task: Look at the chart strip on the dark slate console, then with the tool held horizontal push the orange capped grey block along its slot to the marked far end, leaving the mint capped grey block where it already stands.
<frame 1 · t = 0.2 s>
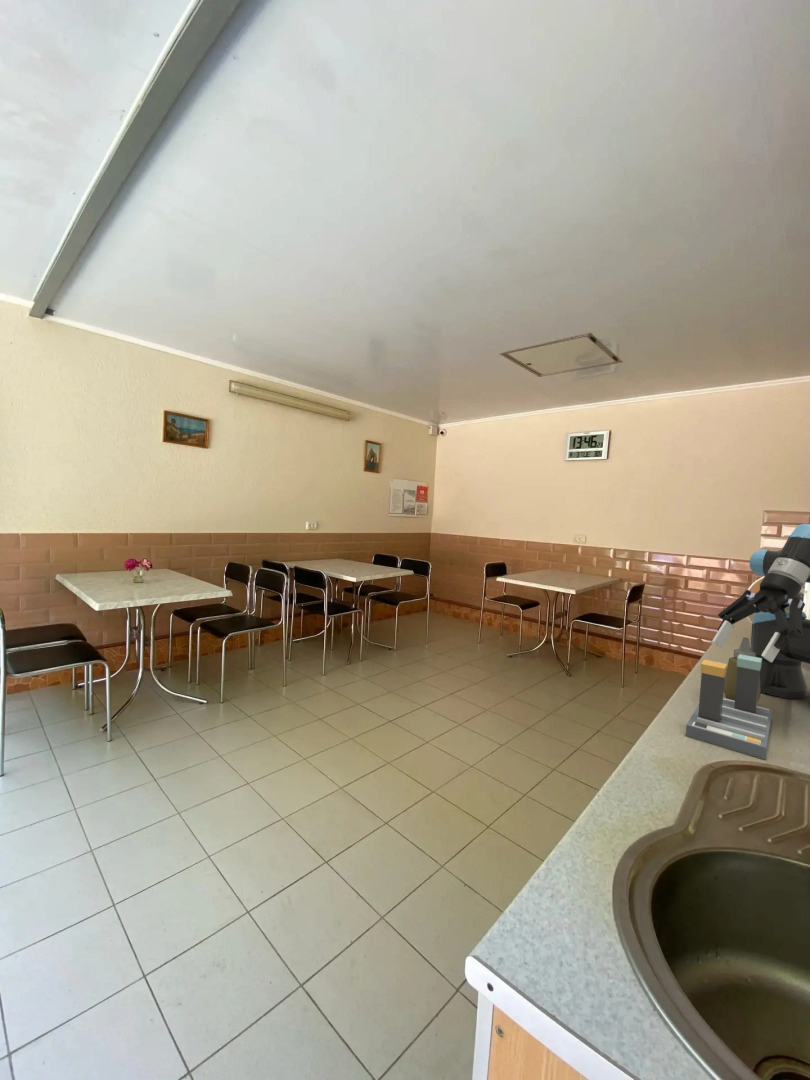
hand: (740, 651, 112), 16 cm above the counter, tool tilted 35°, fingers open, 13 cm apart
orange capped grey block: (711, 691, 104), point 9 cm above the counter, slide at 0.0 cm
squeeze bottle: (740, 706, 120), on the counter
console: (730, 727, 107), on the counter
mint capped grey block: (747, 684, 109), point 9 cm above the counter, slide at 5.7 cm
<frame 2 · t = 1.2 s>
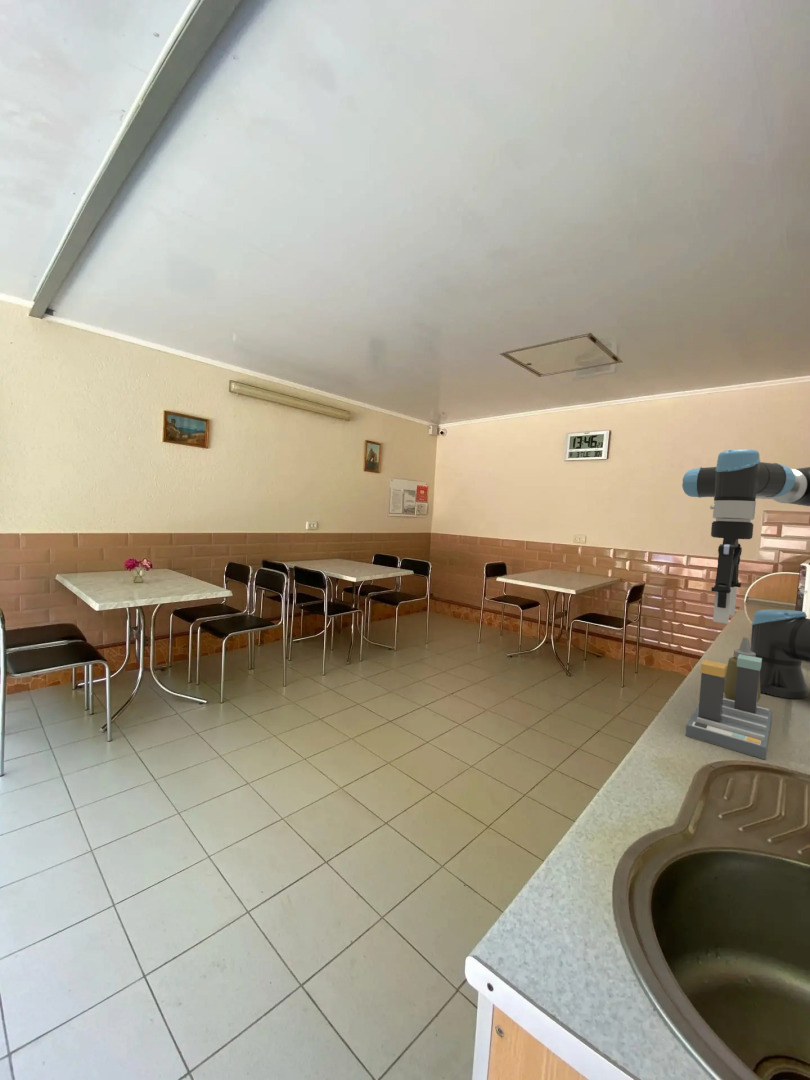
hand: (724, 618, 102), 26 cm above the counter, tool pointing down, fingers open, 11 cm apart
nothing on the counter moved.
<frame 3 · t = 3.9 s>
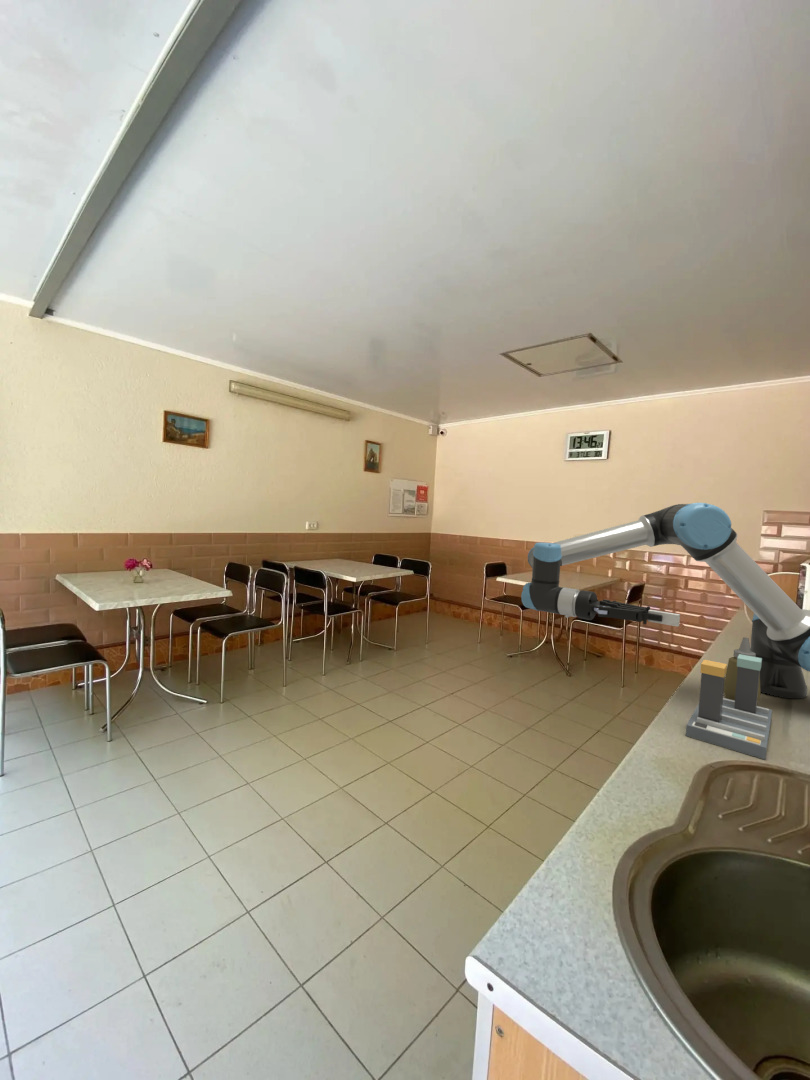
hand: (678, 620, 108), 24 cm above the counter, tool horizontal, fingers closed
nothing on the counter moved.
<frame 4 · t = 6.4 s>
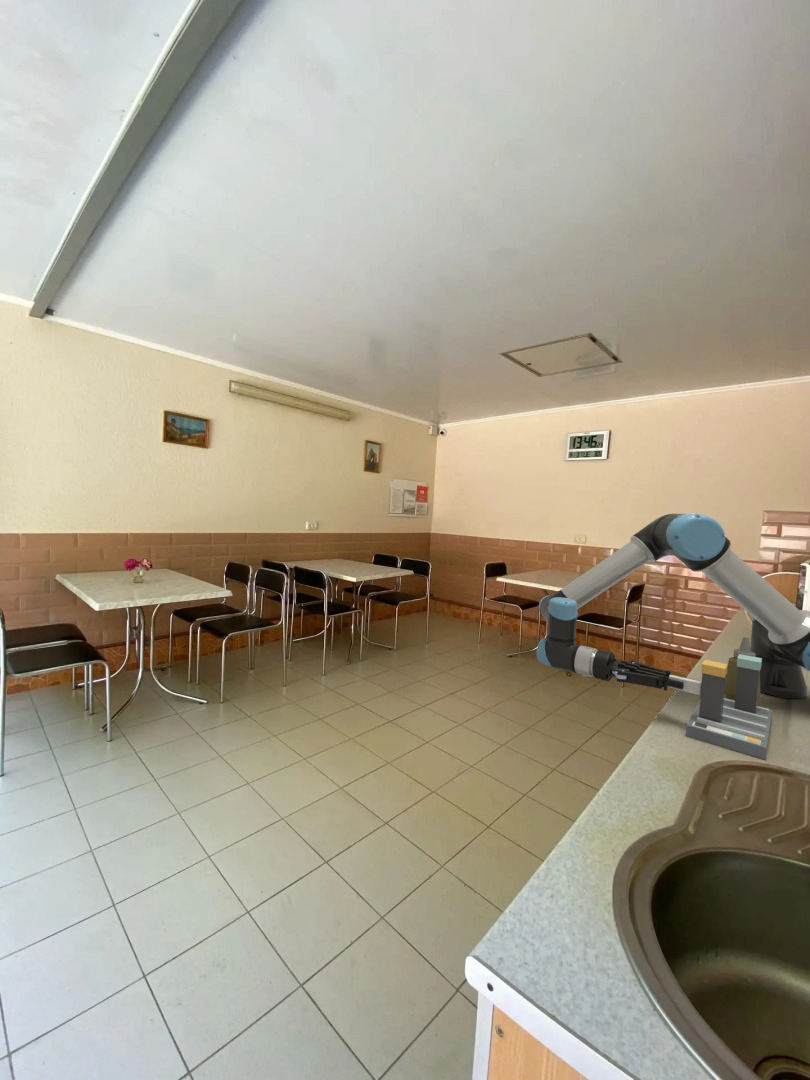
hand: (700, 688, 105), 9 cm above the counter, tool horizontal, fingers closed
orange capped grey block: (712, 692, 104), point 9 cm above the counter, slide at 0.1 cm, touching gripper
everything else where it was.
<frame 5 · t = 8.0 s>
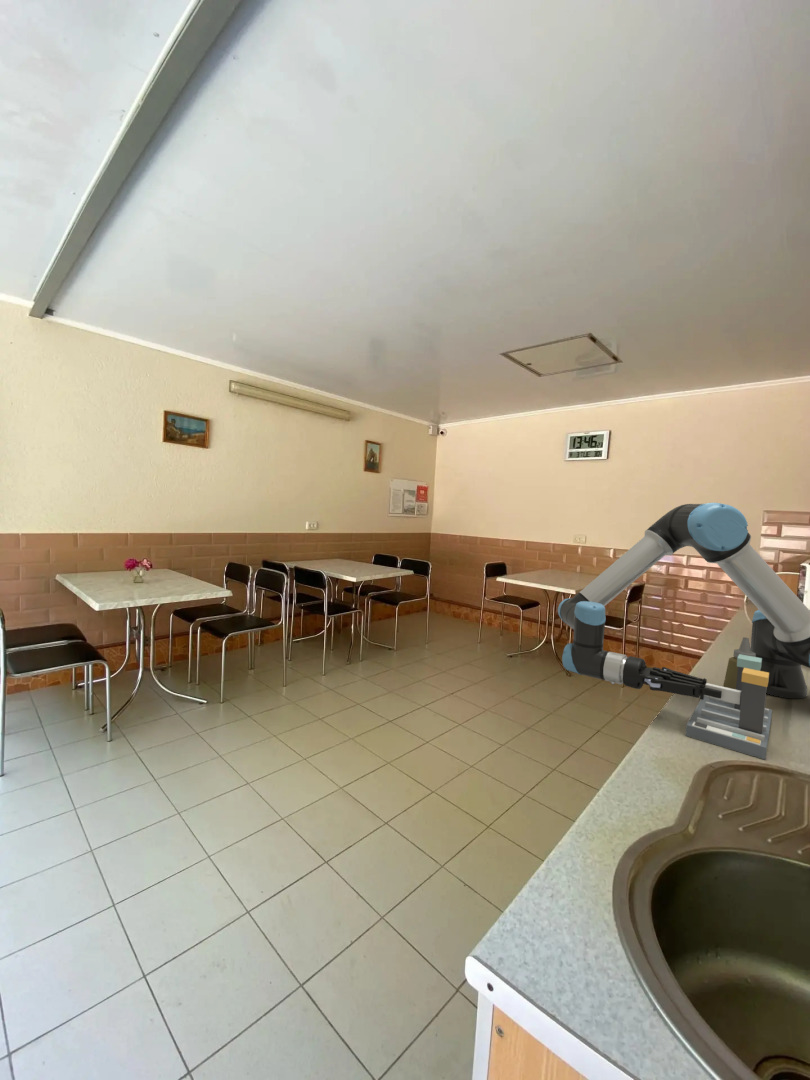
hand: (740, 697, 100), 9 cm above the counter, tool horizontal, fingers closed
orange capped grey block: (753, 701, 99), point 9 cm above the counter, slide at 7.5 cm, touching gripper
everything else where it was.
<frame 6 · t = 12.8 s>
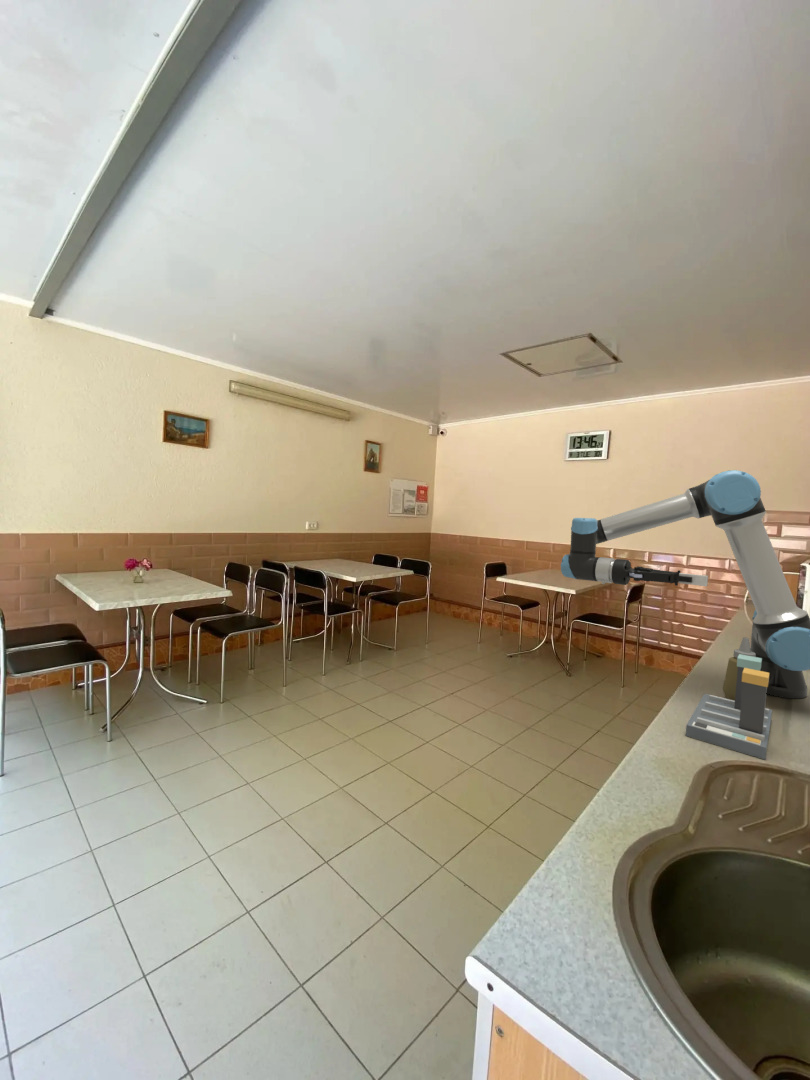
hand: (707, 581, 122), 32 cm above the counter, tool horizontal, fingers closed
orange capped grey block: (753, 701, 99), point 9 cm above the counter, slide at 7.6 cm
everything else where it was.
at the end: orange capped grey block slide at 7.6 cm; mint capped grey block slide at 5.7 cm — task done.
